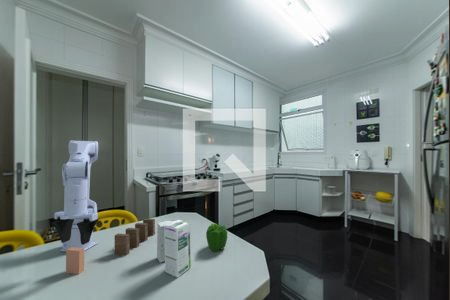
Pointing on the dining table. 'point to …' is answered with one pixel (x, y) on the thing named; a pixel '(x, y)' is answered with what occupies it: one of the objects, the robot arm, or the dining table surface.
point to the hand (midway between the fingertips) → (75, 242)
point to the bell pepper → (216, 237)
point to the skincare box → (161, 240)
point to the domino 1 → (75, 260)
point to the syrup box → (177, 247)
